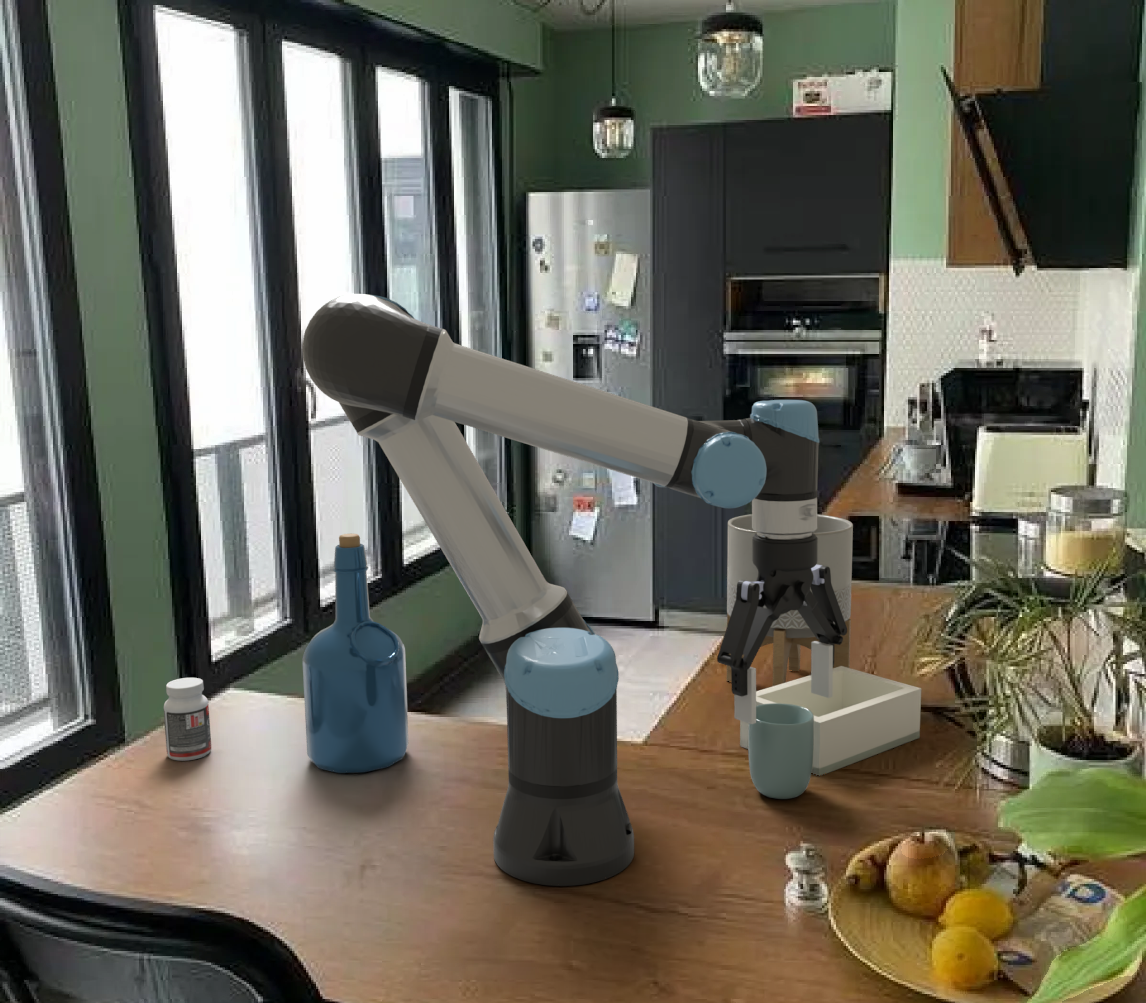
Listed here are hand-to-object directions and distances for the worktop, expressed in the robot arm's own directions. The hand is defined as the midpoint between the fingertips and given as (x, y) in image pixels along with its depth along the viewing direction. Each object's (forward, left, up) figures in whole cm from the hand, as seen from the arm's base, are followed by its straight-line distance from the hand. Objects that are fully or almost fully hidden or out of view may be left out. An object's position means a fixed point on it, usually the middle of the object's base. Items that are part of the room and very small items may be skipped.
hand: (784, 707), depth 136 cm
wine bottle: (-34, +43, -11) cm, 56 cm away
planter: (+32, +27, -11) cm, 43 cm away
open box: (+18, +7, -11) cm, 22 cm away
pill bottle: (-51, +59, -11) cm, 79 cm away
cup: (0, 0, -11) cm, 11 cm away
